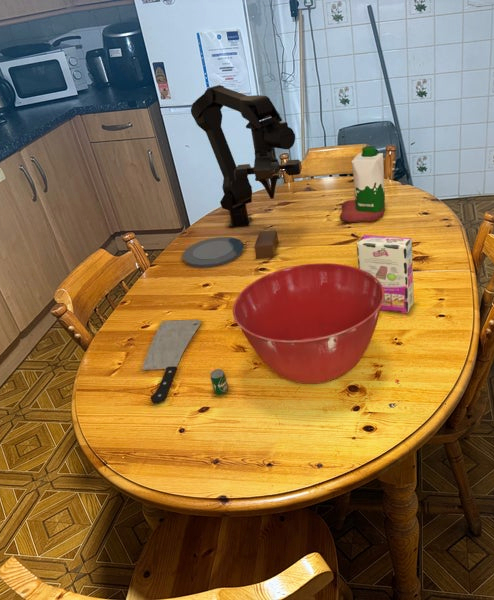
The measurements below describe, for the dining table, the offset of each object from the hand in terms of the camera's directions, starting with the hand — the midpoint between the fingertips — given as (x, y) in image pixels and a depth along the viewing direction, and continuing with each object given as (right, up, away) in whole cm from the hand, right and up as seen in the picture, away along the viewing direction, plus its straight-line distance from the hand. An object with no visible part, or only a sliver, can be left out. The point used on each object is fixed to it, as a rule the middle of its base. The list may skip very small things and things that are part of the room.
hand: (272, 198), depth 161 cm
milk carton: (+30, -3, +13) cm, 33 cm away
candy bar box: (+28, -31, -35) cm, 54 cm away
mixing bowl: (+12, -42, -49) cm, 66 cm away
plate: (-17, -16, +1) cm, 23 cm away
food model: (+28, -1, +13) cm, 31 cm away
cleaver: (-21, -42, -42) cm, 63 cm away
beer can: (-7, -47, -54) cm, 72 cm away
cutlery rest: (-1, -15, -2) cm, 16 cm away
